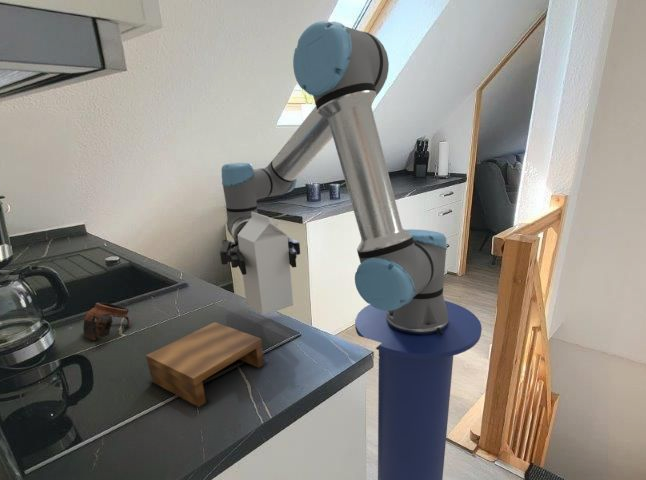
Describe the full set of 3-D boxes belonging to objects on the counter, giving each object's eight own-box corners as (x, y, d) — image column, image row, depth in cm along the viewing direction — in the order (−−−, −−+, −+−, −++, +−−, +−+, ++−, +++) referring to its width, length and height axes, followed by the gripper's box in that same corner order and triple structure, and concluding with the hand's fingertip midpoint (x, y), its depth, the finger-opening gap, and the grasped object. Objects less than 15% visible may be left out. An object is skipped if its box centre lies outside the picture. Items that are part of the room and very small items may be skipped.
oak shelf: (264, 364, 83) (261, 338, 81) (198, 407, 71) (192, 378, 68) (218, 345, 90) (214, 321, 88) (152, 382, 78) (145, 355, 76)
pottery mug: (81, 331, 99) (91, 299, 99) (124, 339, 103) (133, 308, 104) (76, 340, 88) (87, 304, 89) (124, 349, 93) (134, 314, 93)
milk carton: (262, 316, 79) (251, 220, 72) (246, 305, 84) (234, 214, 77) (293, 306, 83) (286, 214, 76) (276, 295, 88) (267, 209, 81)
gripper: (295, 245, 100) (324, 274, 81) (204, 257, 93) (212, 291, 74) (293, 215, 97) (322, 237, 78) (199, 225, 90) (206, 252, 71)
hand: (269, 264), depth 76 cm, fingers closed on milk carton, 9 cm apart
